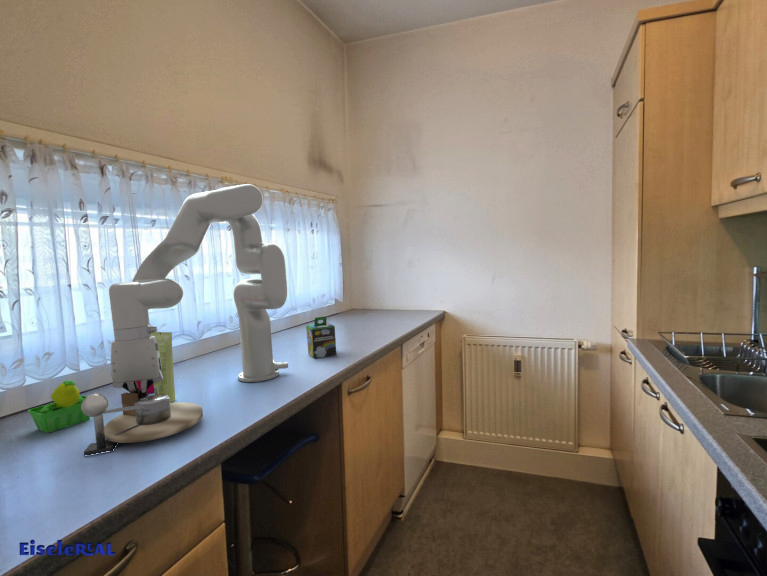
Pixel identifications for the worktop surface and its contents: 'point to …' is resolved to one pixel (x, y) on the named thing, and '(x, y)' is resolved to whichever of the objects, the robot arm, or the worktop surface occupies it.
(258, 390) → the worktop surface
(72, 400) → the fruit basket
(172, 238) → the robot arm
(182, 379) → the worktop surface
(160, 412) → the cover
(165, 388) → the tube
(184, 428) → the turntable
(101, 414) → the knob-topped metal post
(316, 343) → the chalk box
